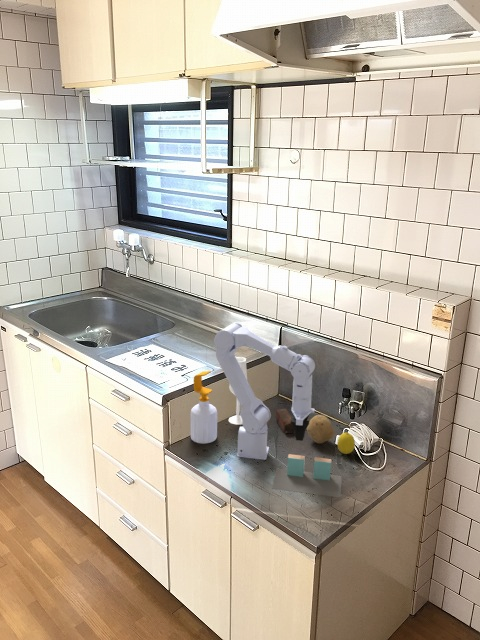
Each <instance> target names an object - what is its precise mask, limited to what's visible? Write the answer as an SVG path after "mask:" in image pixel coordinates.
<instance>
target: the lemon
mask: <svg viewBox="0 0 480 640" xmlns="http://www.w3.org/2000/svg"><path fill="white" fill-rule="evenodd" d="M355 445H356V444H355V438H354V436H353V435H352V434H351V433H349V432H343V433H341V434H340V435H339V437H338V439H337V448H338V451H339V452H340V453H342V454H344V455H347V454H348V455H349V454H351V453H352V452H353V451H354V449H355Z"/></svg>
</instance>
